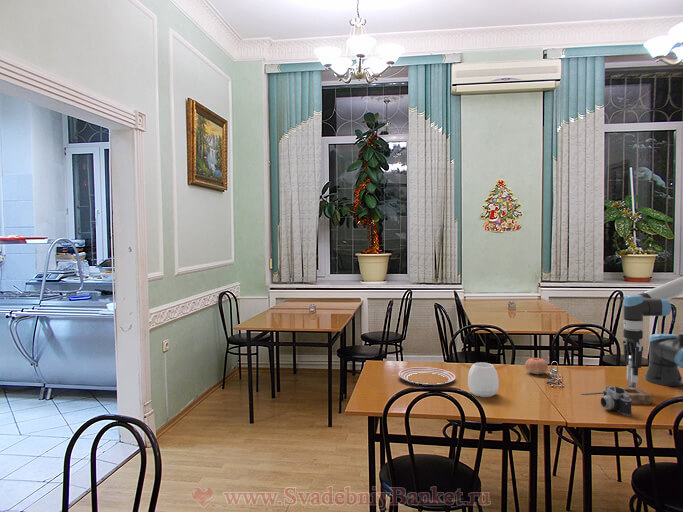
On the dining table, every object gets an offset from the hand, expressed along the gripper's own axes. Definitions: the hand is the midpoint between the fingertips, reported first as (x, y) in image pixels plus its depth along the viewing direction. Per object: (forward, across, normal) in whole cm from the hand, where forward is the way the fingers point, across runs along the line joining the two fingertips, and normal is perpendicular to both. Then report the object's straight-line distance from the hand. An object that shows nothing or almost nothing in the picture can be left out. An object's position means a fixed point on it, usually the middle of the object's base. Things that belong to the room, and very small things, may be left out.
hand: (632, 380), depth 224 cm
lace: (+5, +5, -18) cm, 19 cm away
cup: (+5, +9, -68) cm, 69 cm away
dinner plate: (+5, -12, -91) cm, 92 cm away
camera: (+5, +25, -20) cm, 33 cm away
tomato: (+5, -27, -34) cm, 44 cm away
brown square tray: (+5, +12, -6) cm, 14 cm away
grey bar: (+5, 0, 0) cm, 5 cm away
